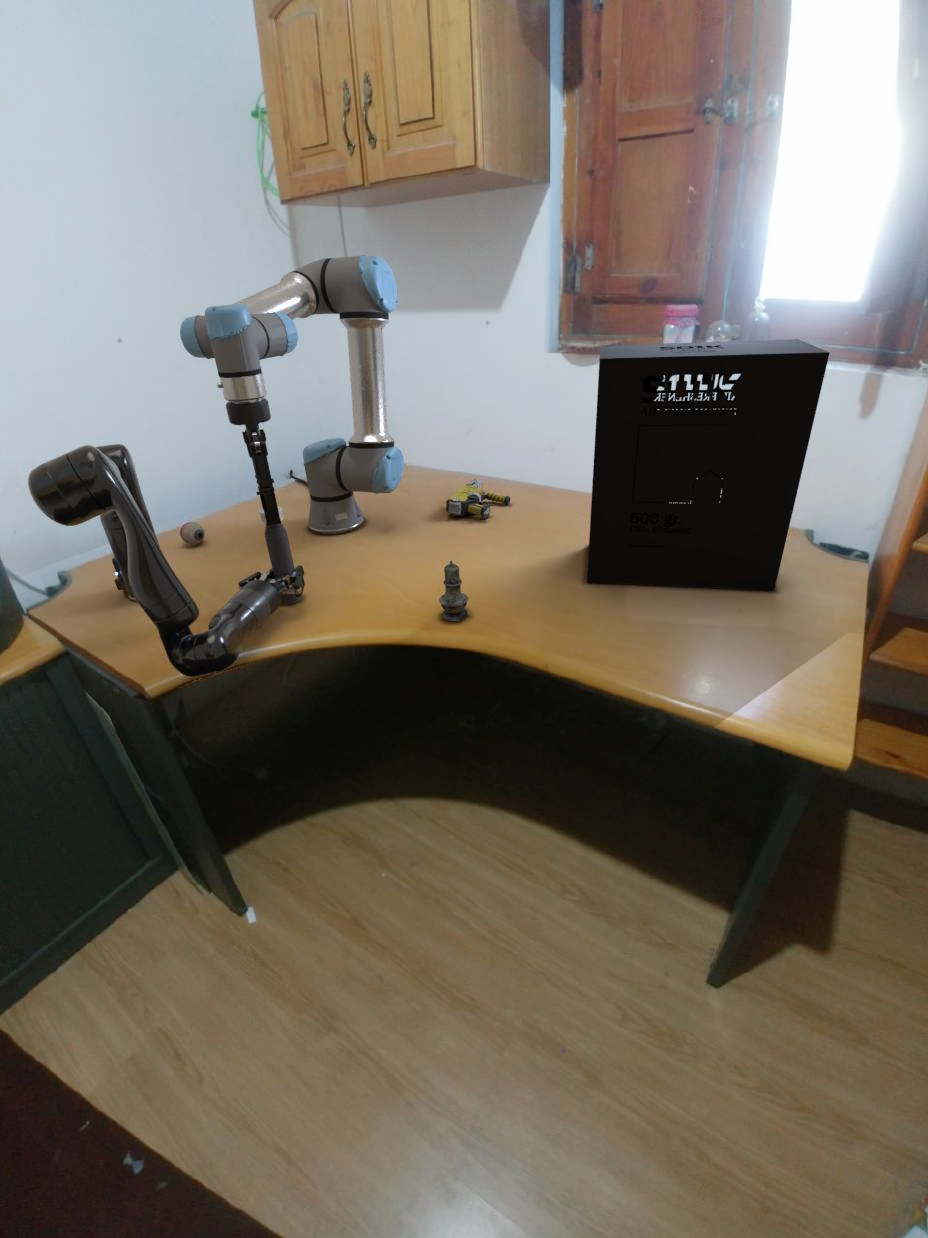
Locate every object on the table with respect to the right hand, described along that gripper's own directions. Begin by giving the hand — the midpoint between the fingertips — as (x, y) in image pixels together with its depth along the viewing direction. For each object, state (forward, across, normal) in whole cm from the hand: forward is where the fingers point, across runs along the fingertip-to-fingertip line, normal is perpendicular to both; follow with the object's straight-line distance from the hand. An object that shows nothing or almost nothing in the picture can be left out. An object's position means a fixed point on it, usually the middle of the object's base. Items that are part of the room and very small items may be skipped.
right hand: (272, 519), depth 122 cm
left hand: (+12, -2, +1) cm, 13 cm away
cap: (-2, 0, 0) cm, 2 cm away
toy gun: (+18, -35, +60) cm, 72 cm away
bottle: (+18, 0, 0) cm, 18 cm away
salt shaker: (+18, +22, +30) cm, 42 cm away
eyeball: (+18, -45, -20) cm, 52 cm away
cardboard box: (+18, +24, +82) cm, 87 cm away
